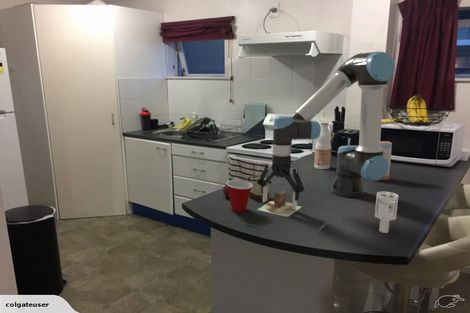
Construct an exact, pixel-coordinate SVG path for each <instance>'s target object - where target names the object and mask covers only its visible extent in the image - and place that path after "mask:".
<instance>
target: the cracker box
mask: <svg viewBox="0 0 470 313" xmlns="http://www.w3.org/2000/svg"><path fill="white" fill-rule="evenodd" d="M380 146H381V147H382V148H383V157H385V158H386V160H387V161H388V170H387V172H386V174H385V175H384V176H383V177H382V178H381V179H379V180H378V181H380V180H381V181H389V179H390V171H391V159H392V150H393V149H392V148H393V147H392V146H393V142H390V141H388V140H387V141H385V140H384V141H383V140H382V141H381V140H380ZM362 180H364V179H363V178H362Z"/></svg>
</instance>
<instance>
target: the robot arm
mask: <svg viewBox="0 0 470 313" xmlns="http://www.w3.org/2000/svg"><path fill="white" fill-rule="evenodd" d="M395 69H396V67H395V61H394V59H393V57H391V55H390V54H389V53H387V52H384V51H371V52H362V53H361V52H360V53H357V54H354V55H353V56H351V57H350V58H347V60H345V62H343V63H342V64H341V65H340V66H339V67H338V68H337V69H335V71H334V72H333V76H332V77H330V78H329V80H328V81H326V82H325V83H324V84H323V85H322V86H321V87H320V88H319V89H318V90H317V91H315V93H314V94H313V95H311V97H310V98H308V99H307V100H306V101H305V102H304V103H303V104H301V106H300V107H299V108H298V109H297V110H296V111H295V112H293V113H292V114H291V115H290V116H289V115H277V116H275V117H274V120H273V128H272V129H273V131H272V132H273V134H272V136H273V137H272V138H273V139H272V156H271V157H272V158H271V163H272V164H271V163H269V162H268V163H266V164H264V169H263V171H262V173H261V177H260V178H259V180H258V182H257V184H258V185H261V193H262V194H263V199H262V203H265V202H266V203H267V202H268V200H267V191H268V186H266V184H267V183H268V182H269V181H270V180H271V179H272V180H273V178H274V177H277V178H281V179H283V178H284V179H285V180H286V181H287V182H288V184H289V185H290V187H291V189H292V190H293V191H294V192H292V208H293V209H294V208H296V207H297V206H298V201H299V200H300V193H303V192H305V187H304V185H303V183H302V179H301V178H300V175H299V170H298V169H299V168H298V167H291V164H292V163H291V162H292V160H291V159H292V156H291V155H292V144H293V143H292V142H293V141H294V140H303V141H304V140H310V141H311V140H316V139H317V138H318V137H319V136H320V133H321V125H320V124H321V123H319V121H316V120H313V119H314V118H315V117H316V116H317V115H318V114H319V113H320V112H322V110H324V108H326V107H327V106H328V105H329V104H330V103H331V102H332V101H333V100H334V99H335V98H336V97H337V96H338V95H340V93H341V92H342V91H344V90H346V88H351V86H352V85H354V84H356V83H357V86H358V88H359V89H361V92H360V93H361V97H360V116H359V117H360V118H359V136H358V137H359V140H358V145H341V146H339V147H338V149H337V154H336V155H337V156H336V157H337V159H336V174H335V175H336V176H335V178H334V181H333V183H332V185H331V190H330V191H331V193H333V195H336V196H341V197H343V198H344V197H345V198H359V197H363V196H364V195H365V188H364V183H363V180H366V181H368V182H369V181H370V182H376V181H377V182H378V181H380V180H379V179H381V178H382V177H383V176H384V175H385V174H386V172H387V170H388V161H387V160H386V158H385V157H383V148H382V147H381V146H380V141H381V135H382V134H381V133H382V118H383V101H384V98H383V97H384V89H385V88H386V87H388V85H389V84H388V82H389V80H390V79H391V78H392V76H393V75H394V74H395V73H394V72H395ZM270 170H272V172H271V173H270V174H269V176H268V178H267V179H266V180H265V181H264V179H265V177H266V176H267V175H268V173H269V172H270ZM291 174H292V175H291ZM292 176H293V177H292ZM362 178H363V179H362ZM263 181H264V182H263Z"/></svg>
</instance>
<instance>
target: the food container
mask: <svg viewBox="0 0 470 313" xmlns="http://www.w3.org/2000/svg"><path fill="white" fill-rule="evenodd" d="M261 175H262V174H261ZM261 175H259V174H257V175H255V174H254V175H249V176H247V177H246V180H245V181H247V182H250V183H251V184H253V187H252V188H251V190H250V193H249V198H251V199H260V200H263V194H262V193H261V185H258V184H257V182H258V180H259V178H260V177H261ZM268 177H269V176H267V175H266V177H265V179H264V181H265V180H266V179H267V178H268ZM264 181H263V182H264ZM272 185H274V181H273V178H272V179H271V180H270V181H269V182H268V183H267V184H266V186H268V191H267V201H269V200H270V199H271V198H270V197H271V191H272ZM249 198H248V199H249Z"/></svg>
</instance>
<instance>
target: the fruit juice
mask: <svg viewBox="0 0 470 313" xmlns="http://www.w3.org/2000/svg"><path fill="white" fill-rule="evenodd" d="M319 124H320V127H321V133H320V136H319V137H318V138H317V139H315V140H316V143H315V147H314V149H315V150H314V166H313V168H315V169H318V170H328V169H330V166H331V151H332V144H331V141H332V134H331V133H330V130H329V126H330V124H329V122H320V123H319Z"/></svg>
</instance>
